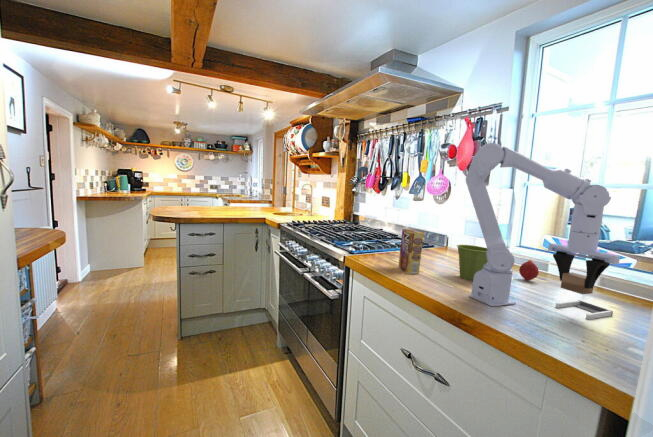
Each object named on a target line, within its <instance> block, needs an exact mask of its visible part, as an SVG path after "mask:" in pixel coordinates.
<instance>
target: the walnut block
mask: <svg viewBox="0 0 653 437" xmlns="http://www.w3.org/2000/svg"><path fill="white" fill-rule="evenodd" d="M585 281H586V275H585V274H580V273H575V272H569V273H563V275H562V281H560V282H561V283H560V289H564V290H567V291H571V292H573V293H577V294H580V295H589V294H593V291H594V287H593V288H591V289H587V288H585Z"/></svg>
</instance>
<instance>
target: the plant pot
mask: <svg viewBox="0 0 653 437" xmlns="http://www.w3.org/2000/svg"><path fill="white" fill-rule="evenodd" d="M456 248H457V253H458V261H459V262H458V263H459V265H458V266H459V277H460V278H461V279H464V280H466V281H471V282H473V278H474V275H475V273H476V272H478V271H481V270H482V269H483V266H484V264H486V263H487V262H488V260H487V257H486V251H487V247H483V246H478V245H473V244H472V245H471V244H456Z"/></svg>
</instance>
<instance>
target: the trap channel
mask: <svg viewBox="0 0 653 437" xmlns="http://www.w3.org/2000/svg"><path fill="white" fill-rule="evenodd" d="M567 307H568V308H569V307H575V308H578V309H581V310H583V311H587V312H588V313H586V314H585V319H586V320H594V319H599V318H606V317H612V316H613V313H614V311H613V310H610V309H608V308H604V307H601V306H598V305H595V304H593V303H589V302H586V301H583V300H580V299H578V300H570V301H563V302H556V303H555V307H554V308H556V309H563V308H567ZM589 312H590V313H589Z"/></svg>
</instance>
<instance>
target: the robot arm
mask: <svg viewBox="0 0 653 437" xmlns="http://www.w3.org/2000/svg"><path fill="white" fill-rule="evenodd" d="M499 164H500V166H499V168H515V169H516V170H518V171H521V172H523V173H524V174H527V175H530V176H532V177H534V178H536V179H539V180H540V181H542V183H543V187H544V188H545V189H547V190H549V191H551V192H553V193H555V194H558V195H560V196H561V197H563V198H565V199H567V200H571V202H572V203H573V204H574V206H573V211H572V216H571V222H570V227H569V234H568V239H567V240H568V241H567V245H563V244H558V243H548V250H547V251H550V252H555V253H552V257H553V258H554V259H553V260H554V261H555V264H556V266H557V270H558V275H559V280H560V282H562V275H563V273H570V271H571V270H570V269H571V266H572V262H573V261H574V258H575V257H579V258H584V259H586V260H585V265H586V275H585V276H586V281H585V288H587V289H591V288H593V289H594V286H595V284H596V282H597V280H598V279H599V277H600V276H601V274H602V273H604V271H605V270H607V269H608V268H609V266H610V265H619V264H620V260H621V256H620V255H616V254H611V253H607V252H602V251H597V250H598V246H599V239H600V234H601V230H602V228H601V227H602V223H603V214H604V209H605V207H606V206H607V205H608V204H609V203H610V201H611V199H612V197H611V196H610V193H609V192H610V191H608V189H607V188H606V187H604V186H603V185H600V184H591V182H592V180H591V179H589V178H585V179H584V178H582V177H579V176H578V175H575V174H573V173H572V170H571V169H569V168H564V169H562V168H560V167H559V168H555V169H550V168H548V167H547V166H545V165H542V164H540V163H539V162H537V161H535V160H534V159H531V158H529V157H527V156H525V155H523V154H521V153H519V152H517V151H516V150H513V149H511V148H509V147H507V146H501V145H500V144H498V143H495V142H489V143H485V144H483V145H482V146H481V147H480V148H479V149H478V150H477V151H476V152H475V153H474V155H473V157H472V160H471V162H470V166H469V169H468V172H467V174H466V177H465V183H466V186H467V189H468V192H469V195H470V199H471V202H472V205H473V207H474V211H475V214H476V218H477V220H478V224H479V226H480V229H481V233H482V236H483V239H484V243H485V245H486V248H487V251H486V257H487V260H488V262H487V263H486V264H484V266H483V269H482V270H481V271H478V272H476V273H475V275H474V278H473V281H472V286H471V293H469V294H468V297H470V298H472V299H475V300H477V301H480V302H481V303H483V304H486V305H488V306H490V307H499V306H507V305H515V304H517V303H516V302H517V301H514V300H513V299H510V294H511V293H510V292H511V287H512V278H513V272H514V270H513V269H512V268H513V267H514V265H515V261H516V260H515V257H514V255H513V253H511V251H510V250H509V248H508V247H507V246H506V243H505V240H504V238H503V235H502V231H501V229H500V226H499V223H498V220H497V216H496V213H495V210H494V208H493V204H492V201H491V198H490V196H489V192H488V189H487V186H486V182H485V181H486V180H487V177H488V176H489V175H490V173H491V172H492V171H493V170H494V169H495V168H496V167H497V166H498V165H499ZM587 259H588V260H587Z"/></svg>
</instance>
